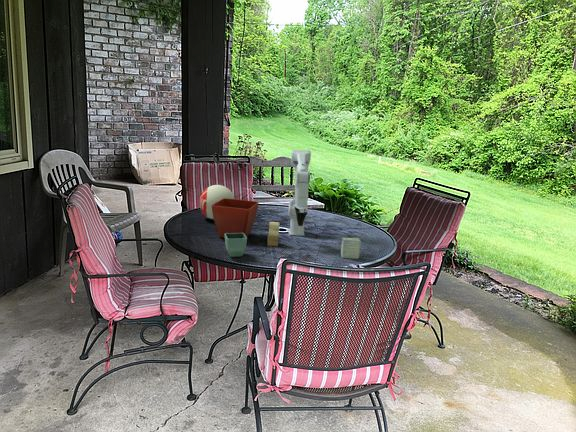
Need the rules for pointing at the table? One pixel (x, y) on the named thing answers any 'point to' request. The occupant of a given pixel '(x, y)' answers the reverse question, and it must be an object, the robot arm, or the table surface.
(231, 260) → the table surface
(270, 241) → the tan wooden cube
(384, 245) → the table surface
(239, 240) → the flower pot
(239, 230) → the plant pot
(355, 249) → the medicine box
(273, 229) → the oak block
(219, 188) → the decorative sphere
